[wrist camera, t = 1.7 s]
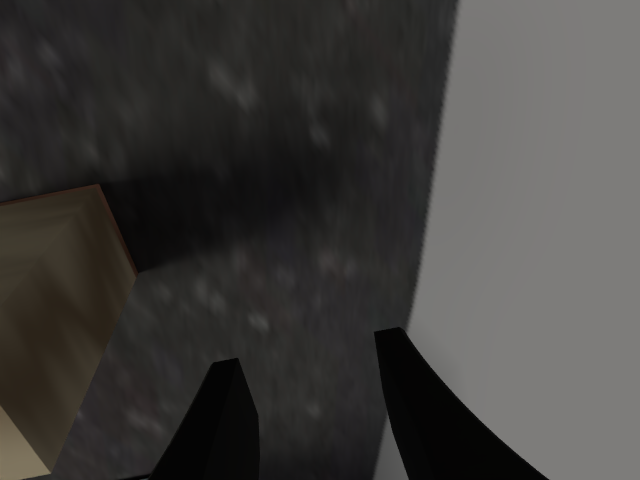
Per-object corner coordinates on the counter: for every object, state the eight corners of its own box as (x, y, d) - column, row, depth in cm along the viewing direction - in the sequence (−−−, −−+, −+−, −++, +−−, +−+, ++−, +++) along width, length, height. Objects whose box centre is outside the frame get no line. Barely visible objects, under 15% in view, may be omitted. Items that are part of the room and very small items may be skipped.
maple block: (138, 273, 22) (50, 473, 13) (42, 291, 22) (-109, 504, 13) (99, 183, 20) (-38, 354, 11) (-9, 204, 20) (-229, 390, 11)
